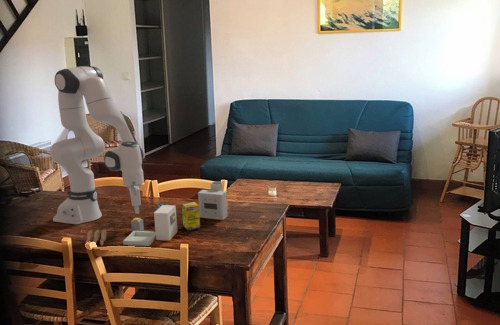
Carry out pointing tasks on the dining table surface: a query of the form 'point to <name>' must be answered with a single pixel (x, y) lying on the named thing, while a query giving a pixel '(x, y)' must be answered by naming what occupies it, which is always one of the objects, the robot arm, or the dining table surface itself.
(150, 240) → the tray
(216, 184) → the thermostat
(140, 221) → the relay block
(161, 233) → the box
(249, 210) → the dining table surface
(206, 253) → the dining table surface
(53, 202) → the dining table surface
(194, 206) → the supplement box
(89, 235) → the ammunition
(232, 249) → the dining table surface
